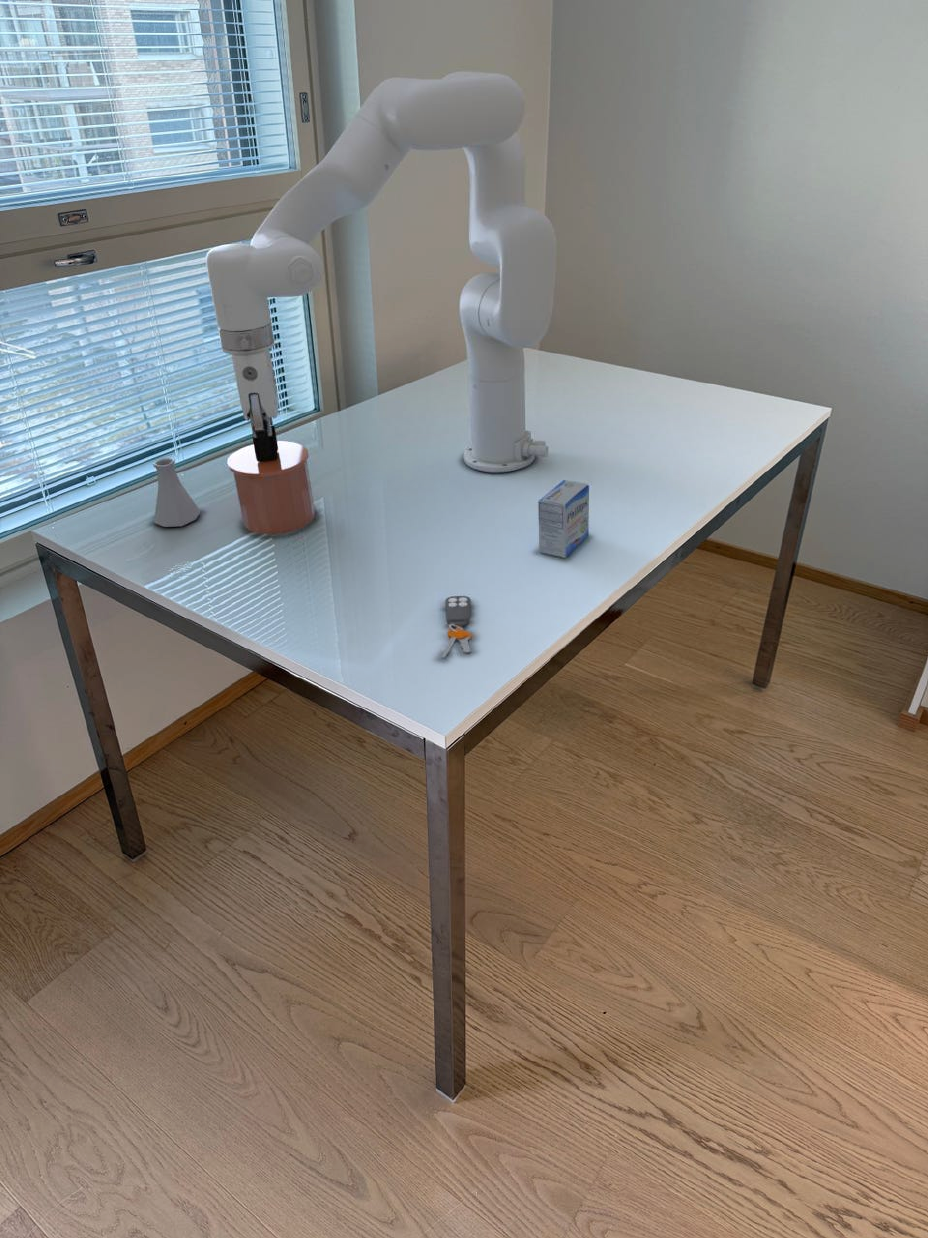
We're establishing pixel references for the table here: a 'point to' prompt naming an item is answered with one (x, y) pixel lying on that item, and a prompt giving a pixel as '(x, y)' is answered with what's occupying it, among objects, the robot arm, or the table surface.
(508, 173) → the robot arm
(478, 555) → the table surface
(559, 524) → the medicine box
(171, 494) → the flask
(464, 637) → the key chain
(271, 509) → the canister
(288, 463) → the lid
